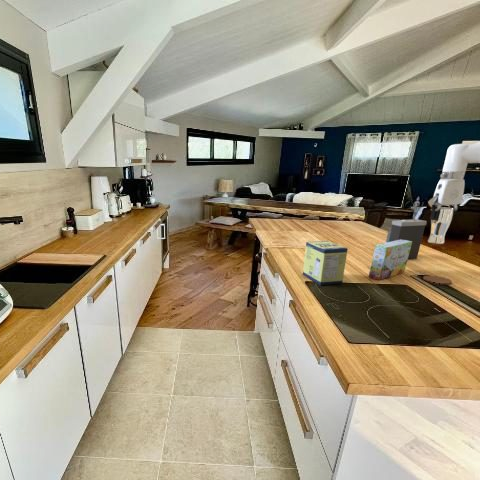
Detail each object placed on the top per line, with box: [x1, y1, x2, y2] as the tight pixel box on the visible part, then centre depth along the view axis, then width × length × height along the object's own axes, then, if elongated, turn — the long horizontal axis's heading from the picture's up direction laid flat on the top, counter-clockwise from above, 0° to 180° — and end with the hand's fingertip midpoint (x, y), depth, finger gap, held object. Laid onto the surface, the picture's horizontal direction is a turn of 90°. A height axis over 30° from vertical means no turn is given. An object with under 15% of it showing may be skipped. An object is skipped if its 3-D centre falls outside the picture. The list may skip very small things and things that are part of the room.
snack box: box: [368, 240, 412, 281], centre depth 140 cm, size 21×6×15 cm, turn 122°
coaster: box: [422, 275, 453, 286], centre depth 135 cm, size 10×10×1 cm
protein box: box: [302, 240, 348, 286], centre depth 136 cm, size 10×16×16 cm
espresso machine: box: [385, 218, 428, 260], centre depth 166 cm, size 9×14×21 cm, turn 100°
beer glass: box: [426, 206, 454, 245], centre depth 137 cm, size 7×7×15 cm
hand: (441, 219), depth 136 cm, fingers closed on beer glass, 7 cm apart
